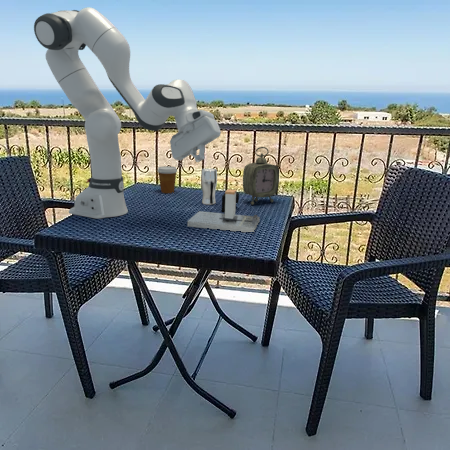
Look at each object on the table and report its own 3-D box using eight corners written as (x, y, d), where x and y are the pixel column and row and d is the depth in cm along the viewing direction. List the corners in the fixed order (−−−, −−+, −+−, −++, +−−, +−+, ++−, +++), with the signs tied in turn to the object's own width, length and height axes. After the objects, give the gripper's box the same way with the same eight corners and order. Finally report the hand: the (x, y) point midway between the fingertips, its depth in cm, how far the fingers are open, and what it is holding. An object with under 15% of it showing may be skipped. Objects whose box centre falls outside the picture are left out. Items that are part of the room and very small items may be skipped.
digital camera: (234, 213, 158) (235, 196, 156) (221, 212, 159) (222, 195, 157) (238, 207, 168) (239, 191, 166) (226, 206, 169) (226, 190, 167)
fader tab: (222, 219, 141) (222, 191, 138) (224, 216, 145) (225, 189, 142) (235, 220, 140) (236, 192, 137) (237, 217, 144) (238, 190, 141)
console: (187, 226, 140) (187, 215, 139) (199, 216, 153) (199, 206, 152) (253, 233, 135) (253, 222, 133) (259, 221, 148) (260, 211, 146)
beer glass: (216, 205, 169) (217, 171, 165) (200, 204, 169) (200, 170, 165) (216, 201, 176) (217, 168, 171) (201, 200, 176) (201, 168, 172)
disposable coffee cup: (155, 193, 187) (154, 168, 184) (161, 189, 196) (161, 165, 193) (174, 194, 186) (173, 169, 182) (179, 190, 195) (179, 166, 191)
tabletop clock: (250, 206, 169) (253, 148, 162) (239, 201, 177) (242, 146, 169) (277, 203, 176) (281, 147, 169) (265, 198, 184) (268, 145, 176)
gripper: (163, 136, 138) (172, 172, 135) (205, 107, 127) (217, 145, 124) (175, 139, 143) (184, 174, 140) (217, 112, 132) (228, 148, 129)
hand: (200, 160), depth 132 cm, fingers closed
